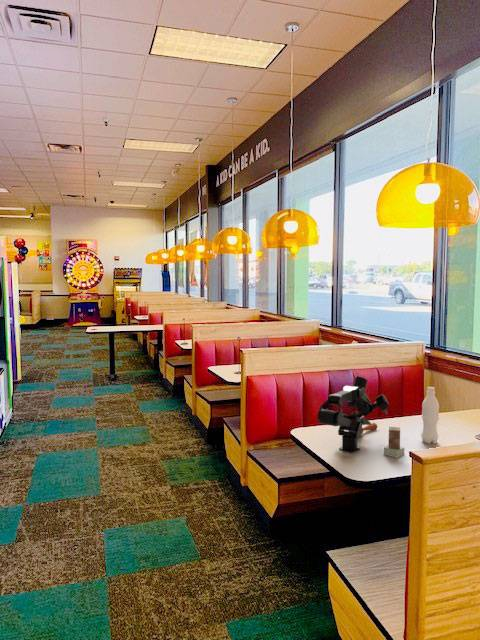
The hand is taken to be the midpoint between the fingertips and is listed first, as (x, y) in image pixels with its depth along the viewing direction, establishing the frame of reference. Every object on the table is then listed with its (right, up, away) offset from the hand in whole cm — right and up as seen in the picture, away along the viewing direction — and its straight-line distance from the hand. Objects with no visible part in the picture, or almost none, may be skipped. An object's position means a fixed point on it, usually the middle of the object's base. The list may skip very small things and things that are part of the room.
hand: (378, 418), depth 222 cm
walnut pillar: (+1, -8, -19) cm, 21 cm away
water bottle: (+21, -10, -5) cm, 24 cm away
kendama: (-5, -9, +7) cm, 13 cm away
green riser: (+1, -11, -19) cm, 22 cm away
